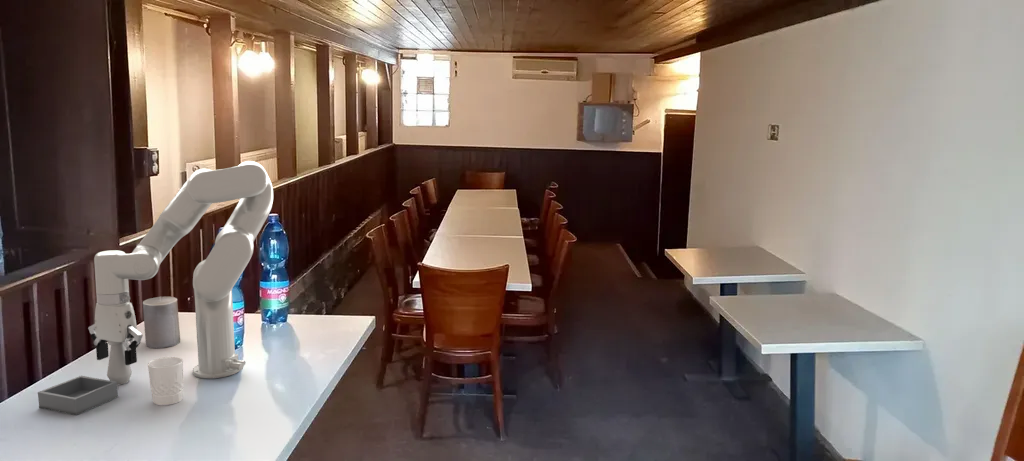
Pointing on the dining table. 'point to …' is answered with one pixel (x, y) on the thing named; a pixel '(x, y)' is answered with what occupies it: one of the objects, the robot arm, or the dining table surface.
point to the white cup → (166, 380)
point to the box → (78, 395)
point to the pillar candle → (161, 322)
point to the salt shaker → (118, 364)
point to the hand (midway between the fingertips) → (116, 361)
